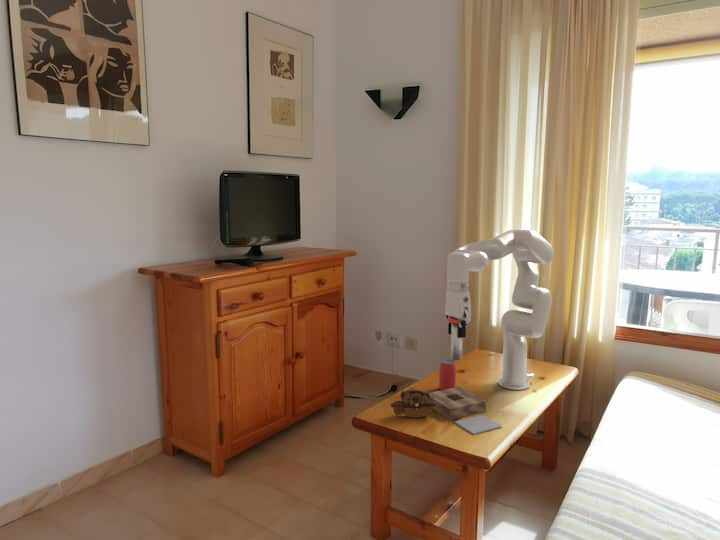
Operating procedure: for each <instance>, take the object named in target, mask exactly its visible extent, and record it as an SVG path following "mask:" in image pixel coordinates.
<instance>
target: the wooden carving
mask: <svg viewBox="0 0 720 540" xmlns="http://www.w3.org/2000/svg"><path fill="white" fill-rule="evenodd" d="M429 393H430V392H429V391H428V390H423V389H420V388H414V387H413V388H409V389H406V390H401V393H400V398H401V400H400V399H399V400H397V399H396V400H394V401H391V402H390V407H391V408H392V410H393V413H394V415H395V416H400V415H404V416H406V417H409V418H413V419H414V418H415V419H417V418H422V417H424V416H427V415H429V414H431V413H433V409H432V408H431V407H430V406H436V405H437V404H436V402H430V401H429V399H430V395H429Z"/></svg>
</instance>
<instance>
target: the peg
mask: <svg viewBox="0 0 720 540" xmlns="http://www.w3.org/2000/svg"><path fill="white" fill-rule="evenodd" d="M462 318H463V317H462ZM463 321H464V320H461V322H463ZM448 322H449V323H451V334H450V335H451V336H450V337H451V339H450V360H453V361H461V360H462V359H463V338H458V327H459V320H458V319H457V318H454V317H448ZM448 322H447V323H448ZM449 323H448V324H449Z"/></svg>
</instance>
